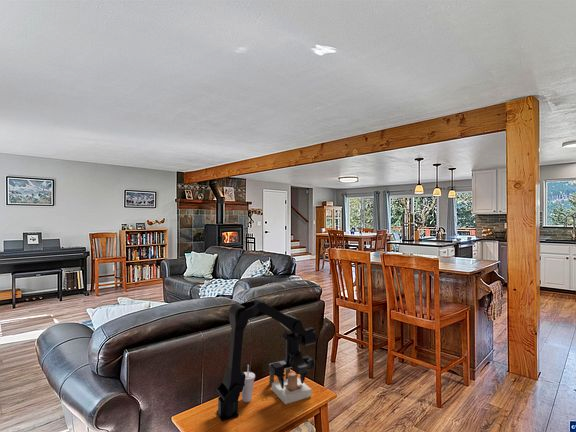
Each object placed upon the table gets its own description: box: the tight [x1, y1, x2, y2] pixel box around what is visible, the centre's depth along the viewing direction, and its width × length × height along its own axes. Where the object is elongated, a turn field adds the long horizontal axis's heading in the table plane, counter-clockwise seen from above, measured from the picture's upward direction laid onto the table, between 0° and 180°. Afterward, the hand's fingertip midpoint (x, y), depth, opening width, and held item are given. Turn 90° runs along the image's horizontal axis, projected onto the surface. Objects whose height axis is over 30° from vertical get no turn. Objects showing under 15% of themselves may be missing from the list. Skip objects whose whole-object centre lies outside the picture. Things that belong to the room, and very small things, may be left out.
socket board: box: [271, 376, 312, 405], centre depth 138 cm, size 12×12×3 cm
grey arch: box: [268, 360, 291, 386], centre depth 146 cm, size 10×4×9 cm, turn 118°
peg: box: [287, 372, 298, 392], centre depth 137 cm, size 4×4×8 cm
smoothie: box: [240, 364, 256, 403], centre depth 133 cm, size 6×6×14 cm
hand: (292, 385), depth 137 cm, fingers open, 9 cm apart
